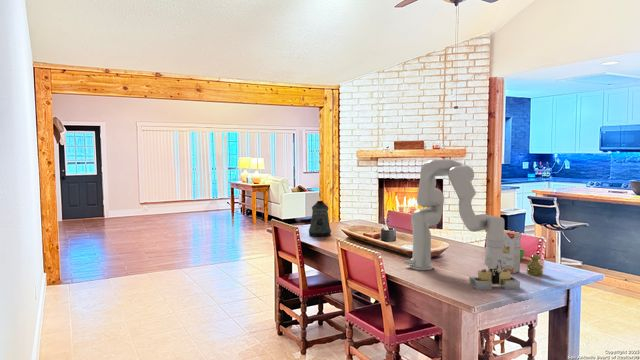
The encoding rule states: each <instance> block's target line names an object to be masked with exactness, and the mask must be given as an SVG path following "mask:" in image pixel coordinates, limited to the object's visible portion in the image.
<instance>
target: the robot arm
mask: <svg viewBox="0 0 640 360" xmlns="http://www.w3.org/2000/svg"><path fill="white" fill-rule="evenodd" d="M419 174H420V175H419V176H420V177H419V183H418V190H417V197H416V203H417V205H418V206H419V207H422V208H420V209H417V210H415V211H413V212H412V214H411V216H410V220H411V226H412V227H411V228H412V257H411V258H410V259H408V260H407V259H404V260H403V264H404V265H409V268H410V269H412V270H416V271H431V270H433V269H434V267H435V266H434V264H432V263H431V261H432V254H431V253H432V233H431V230H430V227H431V226H435V225H438V224H439V223H440V221H441V219H442V215H443V209H444V203H445V196H444V193H443V191H442V190H441V189H439V188H436V187H437V180H436V177H445V176H446V177H448V180H449V181H450V183H451V186H452V187H453V190H454V191H455V194H456V196H457V198H458V212H459V216H460V219H461V220H462V222H463V224H464V226H465V228H466V229H467V230H469V231H470V232H472V233H473V232H481V231H486V236H485V237H486V240H485V241H486V243H485V244H486V245H485V252H484V253H485V254H484V265H485V266H486V267H488V270H493V275H492V284H499V276H500V273H501V272H502V270H501V269H502V268H503V247H504V230H505V218H504V217H501V216H493V215H489V214H486V213H482V214H480V213H479V214H476V213H475V211H474V209H473V206H472V201H473V198H474V197H475V196H476V194H477V192H476V189H475V188H474V186H473V184H472V181H473V180H474V179H475V171H474V169H473V168H471V167H470V166H469V165H467V164H464V163H461V162H458V161H456V160H453V159H448V158H447V159H444V158H443V159H431V160H428V161H426V162H423V164H422V166H421V167H420V173H419ZM496 267H497V268H496ZM495 270H497V271H496V272H495Z"/></svg>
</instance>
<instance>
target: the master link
mask: <svg viewBox="0 0 640 360" xmlns="http://www.w3.org/2000/svg"><path fill="white" fill-rule="evenodd" d="M496 271H497V270H495V272H496ZM511 274H512V273H511V272H510V271H508V270H507V269H503V270H502V272H501V273H500V276H499V284H492V286H494V285H495V286H496V285H497V286H499V285H503V280H510V276H511ZM492 275H493V270H489V269H488V270H487V268H481V270H480V269H479V270H478V271H477V277H478V281H491V282H492Z"/></svg>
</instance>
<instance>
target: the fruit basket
mask: <svg viewBox="0 0 640 360" xmlns="http://www.w3.org/2000/svg"><path fill="white" fill-rule="evenodd" d="M525 253H526V250H524V249H522V245H521V244H520V260H522V259H523V257H524V255H525Z"/></svg>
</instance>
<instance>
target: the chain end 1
mask: <svg viewBox="0 0 640 360" xmlns="http://www.w3.org/2000/svg"><path fill="white" fill-rule="evenodd" d="M468 282H469V283H468V284H469V285H470V286H471V287H472V288H473V289H475V290H476V291H486V290H487V291H489V290H491V291H492V290H493V285H492V282H491V281H478V276H469V277H468Z"/></svg>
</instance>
